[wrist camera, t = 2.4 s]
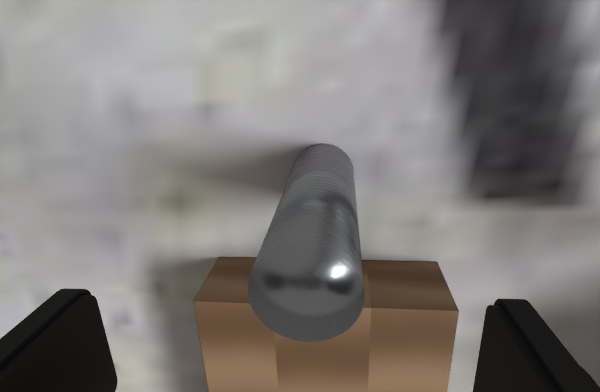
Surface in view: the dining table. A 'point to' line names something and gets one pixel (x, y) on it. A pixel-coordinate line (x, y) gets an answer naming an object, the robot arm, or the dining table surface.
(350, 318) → the pin
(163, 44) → the dining table surface
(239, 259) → the block with square hole
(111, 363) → the robot arm
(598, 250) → the dining table surface
